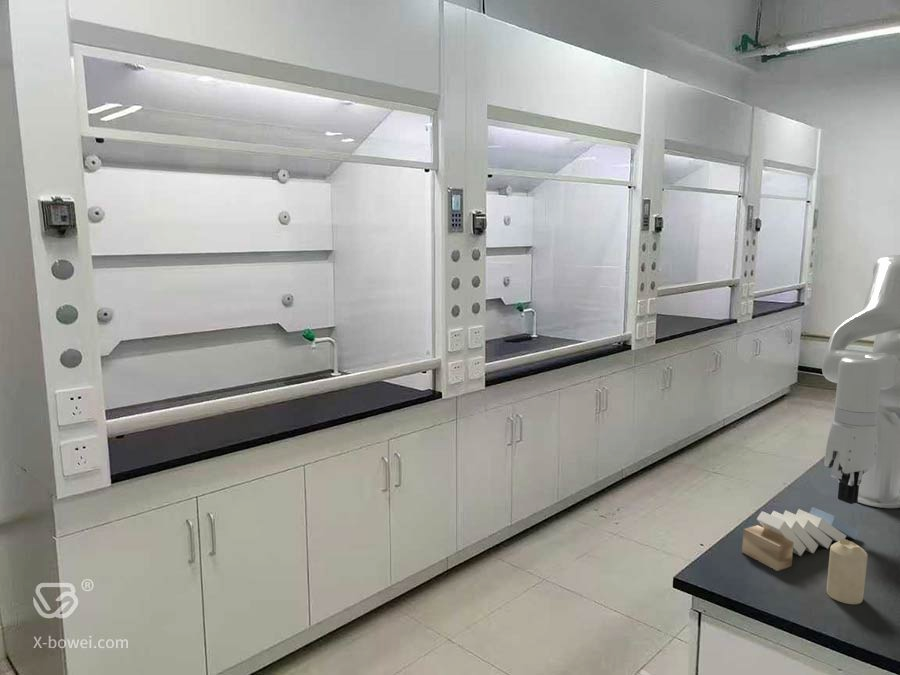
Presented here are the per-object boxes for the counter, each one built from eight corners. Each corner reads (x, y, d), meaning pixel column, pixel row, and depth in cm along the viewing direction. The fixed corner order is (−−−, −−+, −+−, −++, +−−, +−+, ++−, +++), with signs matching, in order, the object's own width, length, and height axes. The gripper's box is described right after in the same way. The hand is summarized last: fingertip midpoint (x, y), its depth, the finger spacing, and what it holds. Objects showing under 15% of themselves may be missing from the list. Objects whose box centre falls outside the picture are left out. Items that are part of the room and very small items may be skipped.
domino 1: (783, 537, 130) (762, 510, 126) (806, 548, 125) (784, 520, 121) (778, 545, 129) (756, 518, 125) (800, 556, 125) (778, 529, 121)
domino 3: (809, 530, 133) (785, 510, 129) (832, 540, 128) (808, 519, 124) (805, 538, 133) (780, 518, 129) (827, 548, 128) (803, 528, 124)
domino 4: (823, 526, 135) (798, 508, 130) (846, 535, 130) (821, 518, 126) (819, 534, 135) (794, 517, 130) (842, 544, 130) (817, 527, 126)
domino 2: (795, 535, 131) (773, 510, 127) (818, 545, 127) (796, 520, 123) (790, 543, 131) (768, 518, 127) (813, 553, 126) (790, 528, 122)
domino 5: (836, 521, 137) (812, 506, 132) (859, 531, 132) (835, 516, 128) (832, 530, 136) (808, 515, 132) (856, 540, 132) (831, 525, 128)
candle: (870, 601, 110) (876, 547, 108) (845, 607, 108) (851, 552, 107) (842, 585, 115) (847, 533, 113) (818, 590, 113) (823, 538, 112)
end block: (756, 548, 129) (757, 525, 128) (791, 566, 122) (793, 541, 121) (741, 552, 127) (743, 528, 126) (777, 570, 120) (778, 546, 119)
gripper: (860, 408, 137) (852, 488, 139) (814, 416, 130) (807, 501, 133) (896, 416, 130) (888, 501, 133) (849, 426, 124) (841, 514, 127)
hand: (847, 501), depth 133 cm, fingers closed
